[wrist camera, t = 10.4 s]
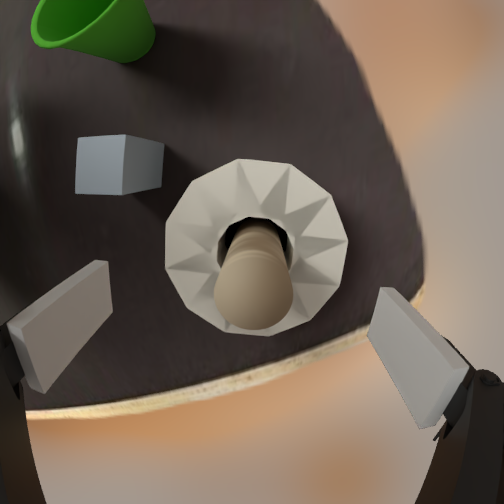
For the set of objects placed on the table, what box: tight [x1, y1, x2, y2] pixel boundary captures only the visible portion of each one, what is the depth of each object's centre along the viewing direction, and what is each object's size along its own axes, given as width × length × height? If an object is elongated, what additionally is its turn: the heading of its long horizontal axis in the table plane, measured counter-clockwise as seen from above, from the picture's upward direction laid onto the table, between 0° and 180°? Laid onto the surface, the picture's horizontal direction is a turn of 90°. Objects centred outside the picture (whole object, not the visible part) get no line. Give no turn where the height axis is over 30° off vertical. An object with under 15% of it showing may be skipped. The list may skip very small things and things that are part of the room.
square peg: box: [75, 135, 164, 195], centre depth 21 cm, size 4×4×8 cm
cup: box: [31, 0, 156, 63], centre depth 16 cm, size 9×9×11 cm
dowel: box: [214, 218, 293, 330], centre depth 20 cm, size 4×4×12 cm
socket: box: [165, 159, 348, 336], centre depth 24 cm, size 14×14×5 cm
